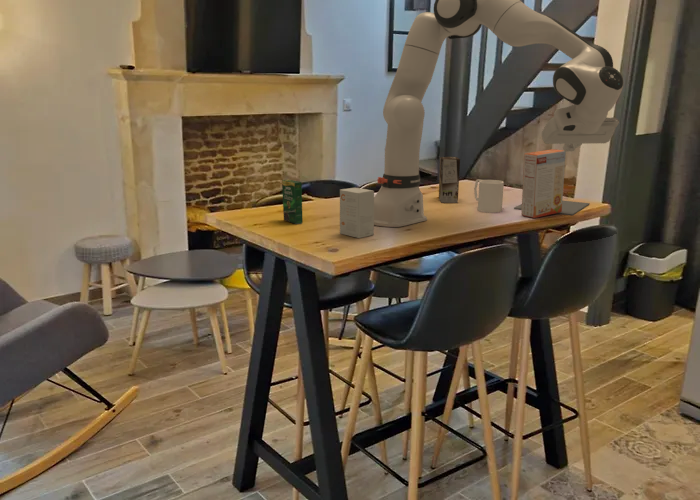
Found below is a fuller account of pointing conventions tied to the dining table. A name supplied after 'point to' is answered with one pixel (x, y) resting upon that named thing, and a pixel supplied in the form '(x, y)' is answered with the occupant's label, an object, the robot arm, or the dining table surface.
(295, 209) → the coffee box
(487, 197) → the cup
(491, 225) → the dining table surface
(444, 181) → the coffee box
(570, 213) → the slate mat
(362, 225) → the small box
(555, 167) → the cracker box
